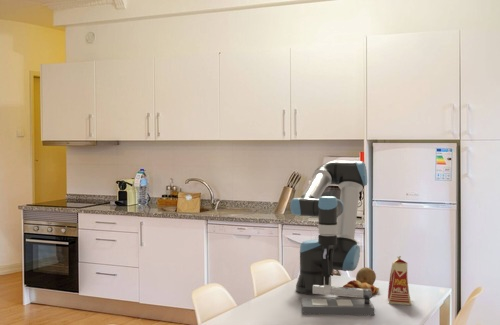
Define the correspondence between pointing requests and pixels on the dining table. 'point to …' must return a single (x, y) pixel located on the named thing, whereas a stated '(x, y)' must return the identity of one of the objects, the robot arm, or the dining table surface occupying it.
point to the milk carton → (399, 283)
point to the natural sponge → (366, 276)
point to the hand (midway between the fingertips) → (327, 292)
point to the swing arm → (344, 291)
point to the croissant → (361, 286)
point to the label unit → (338, 306)
